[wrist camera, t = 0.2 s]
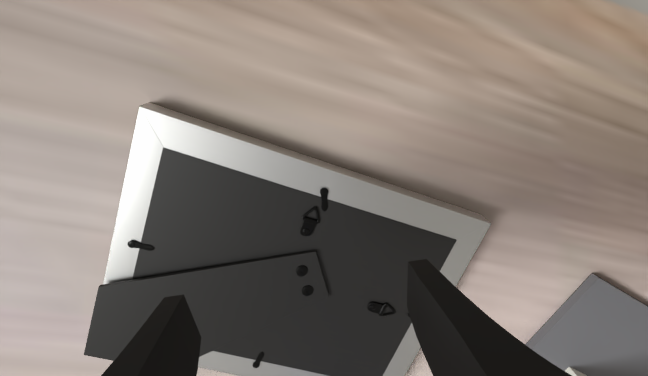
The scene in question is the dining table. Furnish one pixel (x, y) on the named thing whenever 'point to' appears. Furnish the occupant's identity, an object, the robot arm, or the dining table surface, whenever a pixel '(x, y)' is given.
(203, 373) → the dining table surface
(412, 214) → the picture frame
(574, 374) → the tile
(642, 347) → the mat
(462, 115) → the dining table surface
